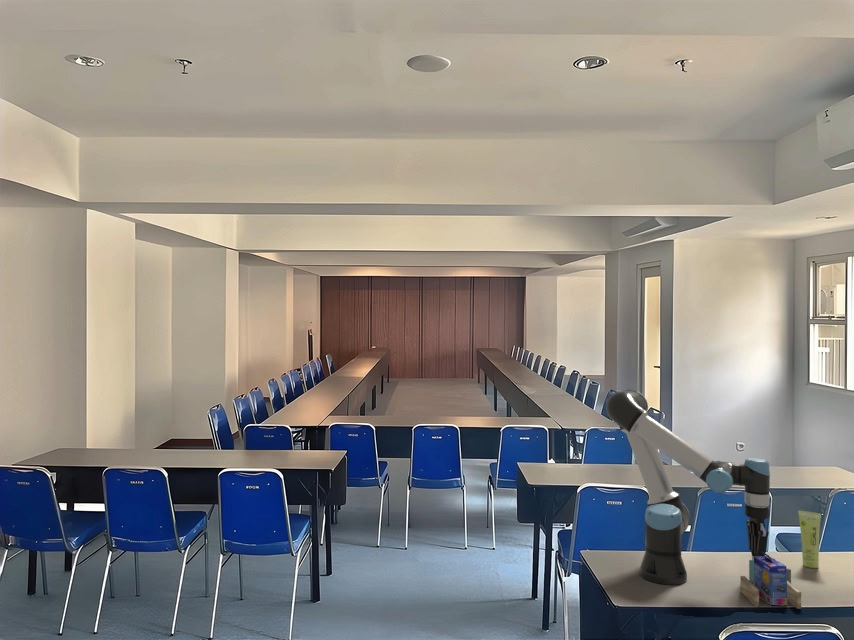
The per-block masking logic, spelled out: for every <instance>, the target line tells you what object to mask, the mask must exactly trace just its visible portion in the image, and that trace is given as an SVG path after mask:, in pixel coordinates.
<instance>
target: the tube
mask: <svg viewBox="0 0 854 640" xmlns="http://www.w3.org/2000/svg"><path fill="white" fill-rule="evenodd" d="M797 515H798V519H799V520H798V521H799V528H800V539H801V553H802V555H801V557H802V558H801V559H802V566H804V567H805V568H810V569H818V568H819V567H820V565H819V561H820V559H819V557H820V556H819V554H820V553H819V551H820V547H819V546H820V531H821V530H820V529H821V520H822V513H818V512H812V511H806V510H805V511H804V510H799V509H798V510H797Z"/></svg>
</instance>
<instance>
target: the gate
mask: <svg viewBox="0 0 854 640" xmlns="http://www.w3.org/2000/svg"><path fill="white" fill-rule="evenodd" d="M748 563H749V564H748V568H749V569H748V574H749V575H748V580H749V581H750V582H751V583H752V584H754V561H753V560H752V559H750V560H748ZM786 568H787V567H786ZM787 581H788V582H790V583H791V584H792V569H791V568H787Z"/></svg>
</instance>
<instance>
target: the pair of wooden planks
mask: <svg viewBox="0 0 854 640" xmlns="http://www.w3.org/2000/svg"><path fill="white" fill-rule="evenodd" d="M739 581H740V588H739V589H740V590H739V591H740V593H741V594H742V595H743V596H744V597H745V598H746V599H747V600H748V601H749V602H750V603H751V604H752V605H753V604H754V605H755V606H754V605H753V606H754V607H758V606H759V607H760V597H759V589H758V588H756V587H755V586H754V583H753V582H750V581H749V578H747V577H746V576H745V575H740V580H739ZM787 597H788V602H789V601H790V602H791V603H792V604H791V603H790V602H789V603H790V604H791V605H792V606H794V605H795V606H794V607H795V608H796V609H797V610H798V609H799V610H801V609H802V591H801V590H799V589H798V588H797V587H795V585H793V583H792V582H791V583H790V582H788V581H787Z"/></svg>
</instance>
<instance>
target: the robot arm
mask: <svg viewBox="0 0 854 640" xmlns="http://www.w3.org/2000/svg"><path fill="white" fill-rule="evenodd" d="M605 406H606V407H605V411H606V414H607V416H608V417H609V419H610V420H611V421H612V422H614V423H615V424H617V425H618V427H619V430H620V431H621V432H623V433H625V434H626V436H627V440H628V442H629V445H630V447H631V450H632V453H633V455H634V458H635V462H636V464H637V467H638V470H639V471H640V472H639V473H640V474H641V478H642V480H643V483H644V486H645V489H646V490H647V493H648V500H647V507H646V509H645V515H644V522H645V523H644V524H645V525H644V526H645V528H644V529H645V530H644V533H645V535H644V537H645V538H644V539H645V540H644V542H645V543H644V545H645V547H644V550H645V551H644V554H643V558H642V560H641V563H640V566H639V575H640V576H641V578H643V579H644V580H647V581H650V582H652V583H656V584H660V585H671V586H672V585H673V586H674V585H681V584H684V583H686V582H687V581H688V574H687V570H686V566H685V564H684V559H683V557H682V535H683V534H684V533H685V532H686V531H687V529H688V527H689V525H690V522H691V518H690V517H691V515H690V511H689V509H688V508H687V505H685V504H684V502H683V501H682V498H681V496H680V493H678V492H676V491H674V490H673V487H672V484H671V481H670V479H669V476H668V474H667V471H666V468H665V466H664V463H663V460H662V457H661V455H660V452H662V453H664V454H665V455H666V456H668V457H669V458H670V459H672V460H673V461H675V462H676V464H677V463H678V464H679V465H680V466H681V467H683V468H685V469H686V470H687V471H689V472H690V473H691V474H693V475H695V476H696V477H697V478H699V480H702V481H703V482H704V483H705V484H706V485H707V487H708V488H709V490H711V491H713V493H717V494H720V493H721V494H722V493H726V492H727V491H729V490H730V489H731V488H732V487H733V486H739V487H744V503H745V504H744V515H745V516H746V517H748V518H749V519H748V520H745V524H746V529H747V540H748V550H749V551H750V552H751V560H753V561H754V556H764V555H763V553H765V554H767V553H766V552H767V543H768V536H769V534H770V533H769V530H766V522H765V520H768V519H770V517H771V516H770V515H771V514H770V511H771V510H770V507H769V506H770V499H771V497H772V496H771V494H770V485H771V484H770V483H771V481H770V480H771V479H770V477H771V472H770V464H769V462H768V460H766V459H763V458H759V457H746V458H745V460H744V463H743V462H742V463H741V462H739V463H737V462H730V461H722V460H721V461H720V460H714V459H712V458H711V457H709V456H707V455H706V454H705V453H703V452H702V451H700V450H699V449H698V448H696V447H694V446H693V445H691V444H690V443H688V442H687V441H686V440H684V439H683V438H681V437H680V436H678V435H677V434H676V433H674V432H672V431H671V430H670V429H668V428H667V427H665V426H664V425H663V424H661V423H660V422H658V421H657V420H655V419H654V418H652V417H651V416H650V414H649V410H648V409H649V404H648V401H647V399H646V397H645V396H644V395H643V394H642V393H641V392H640V391H636V390H633V389H626V390H623V391H618V392H615V393H613V394H612V395H611V396H610V397H608V399H607V401H606V405H605ZM659 451H660V452H659ZM762 552H763V553H762Z"/></svg>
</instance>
